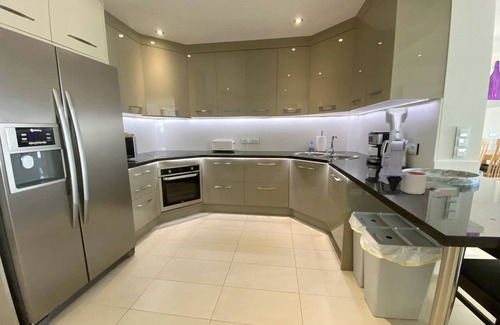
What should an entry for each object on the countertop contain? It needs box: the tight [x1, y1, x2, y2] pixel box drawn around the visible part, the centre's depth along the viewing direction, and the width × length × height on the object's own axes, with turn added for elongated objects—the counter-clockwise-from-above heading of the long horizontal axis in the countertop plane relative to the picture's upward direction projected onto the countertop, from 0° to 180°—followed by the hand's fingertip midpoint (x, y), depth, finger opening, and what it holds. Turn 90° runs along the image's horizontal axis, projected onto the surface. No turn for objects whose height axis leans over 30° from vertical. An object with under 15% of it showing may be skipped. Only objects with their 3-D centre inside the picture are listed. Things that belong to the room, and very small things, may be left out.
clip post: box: [432, 189, 443, 198], centre depth 103 cm, size 2×2×3 cm
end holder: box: [425, 179, 461, 197], centre depth 111 cm, size 14×10×4 cm
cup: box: [400, 170, 427, 195], centre depth 110 cm, size 10×10×10 cm
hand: (392, 190), depth 111 cm, fingers closed
